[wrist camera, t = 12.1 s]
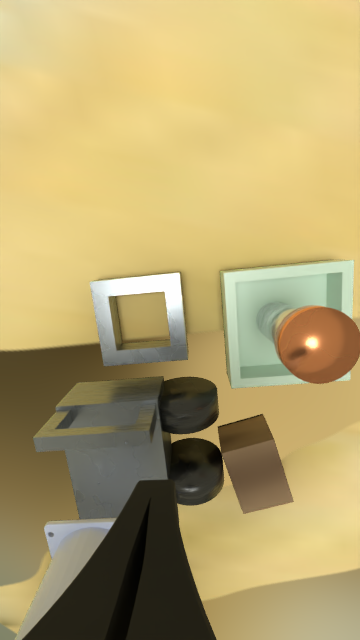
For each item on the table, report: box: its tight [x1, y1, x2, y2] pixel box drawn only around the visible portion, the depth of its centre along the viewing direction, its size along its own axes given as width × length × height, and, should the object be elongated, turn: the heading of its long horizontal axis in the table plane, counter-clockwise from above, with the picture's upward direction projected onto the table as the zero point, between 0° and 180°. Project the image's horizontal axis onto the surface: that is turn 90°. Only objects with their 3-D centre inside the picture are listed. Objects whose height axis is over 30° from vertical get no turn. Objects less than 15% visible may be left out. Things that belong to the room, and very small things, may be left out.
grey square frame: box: [90, 272, 188, 366], centre depth 19 cm, size 6×6×2 cm
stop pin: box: [257, 302, 360, 384], centre depth 15 cm, size 3×3×7 cm
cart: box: [33, 376, 224, 519], centre depth 18 cm, size 8×10×7 cm
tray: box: [220, 260, 354, 388], centre depth 18 cm, size 7×7×2 cm
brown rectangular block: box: [218, 414, 294, 514], centre depth 20 cm, size 5×4×3 cm
